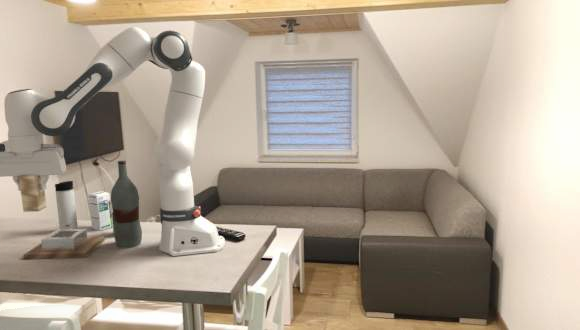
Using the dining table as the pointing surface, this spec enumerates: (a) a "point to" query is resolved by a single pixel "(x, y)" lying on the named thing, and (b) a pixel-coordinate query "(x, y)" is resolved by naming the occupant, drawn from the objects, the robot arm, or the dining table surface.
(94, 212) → the syrup box
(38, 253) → the walnut base
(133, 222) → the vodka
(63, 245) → the steel collar
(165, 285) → the dining table surface
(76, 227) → the travel mug
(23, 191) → the birch pin
